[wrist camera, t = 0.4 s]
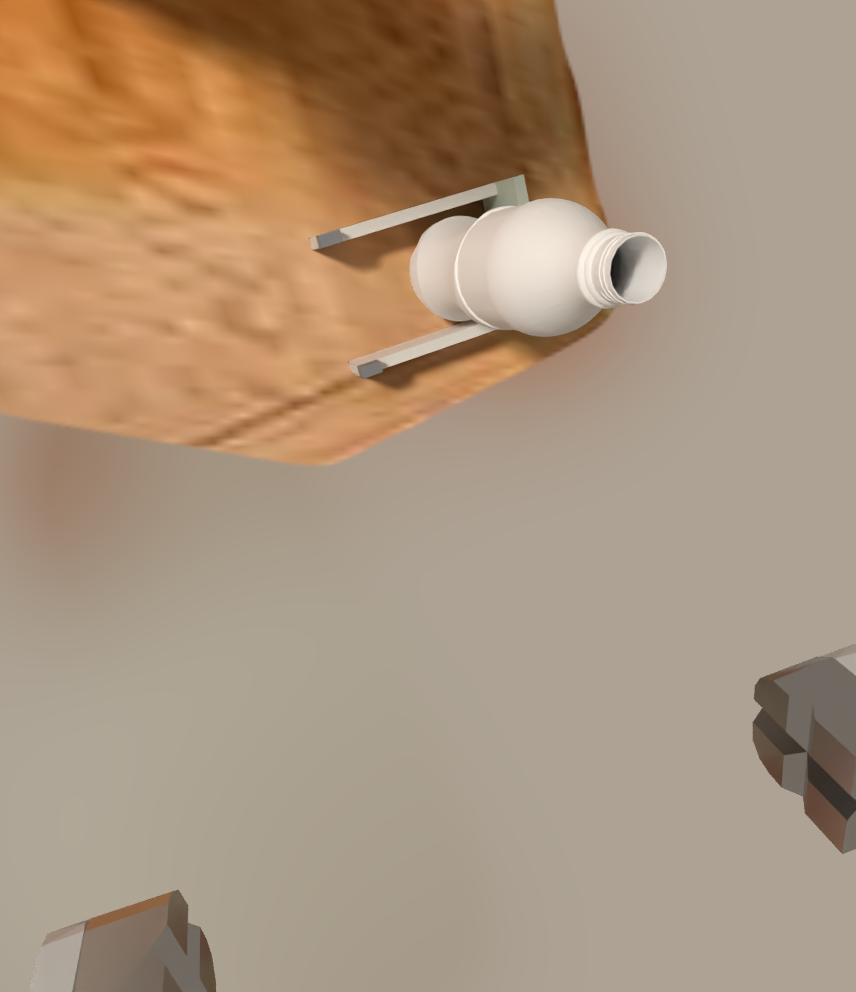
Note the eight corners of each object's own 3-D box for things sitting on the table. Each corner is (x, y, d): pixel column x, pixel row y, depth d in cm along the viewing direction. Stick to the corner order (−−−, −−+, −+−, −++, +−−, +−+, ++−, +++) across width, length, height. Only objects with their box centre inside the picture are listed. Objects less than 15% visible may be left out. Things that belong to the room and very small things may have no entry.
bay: (308, 238, 50) (323, 234, 44) (488, 183, 52) (523, 174, 47) (351, 371, 53) (369, 382, 48) (517, 314, 56) (553, 318, 51)
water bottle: (495, 310, 56) (707, 338, 33) (408, 325, 54) (569, 366, 31) (485, 212, 53) (707, 169, 30) (394, 225, 51) (558, 189, 29)
